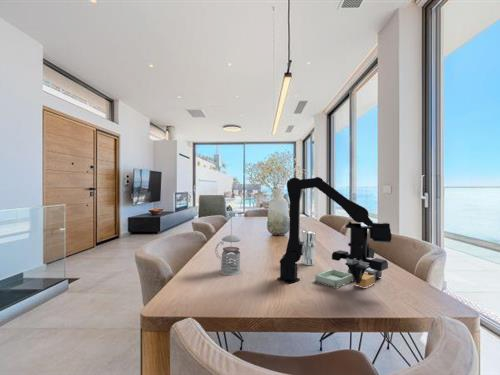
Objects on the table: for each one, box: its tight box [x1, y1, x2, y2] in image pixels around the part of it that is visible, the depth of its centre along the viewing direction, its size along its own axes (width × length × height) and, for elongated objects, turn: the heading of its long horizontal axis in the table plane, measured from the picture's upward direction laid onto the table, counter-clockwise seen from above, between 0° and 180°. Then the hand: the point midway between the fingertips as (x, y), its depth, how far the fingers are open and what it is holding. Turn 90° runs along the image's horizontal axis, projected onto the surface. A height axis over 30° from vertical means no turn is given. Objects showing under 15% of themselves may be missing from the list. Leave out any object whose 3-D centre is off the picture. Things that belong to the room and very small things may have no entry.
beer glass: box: [300, 230, 317, 266], centre depth 127 cm, size 7×7×15 cm
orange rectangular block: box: [354, 272, 376, 287], centre depth 100 cm, size 7×4×4 cm, turn 130°
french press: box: [214, 212, 243, 276], centre depth 114 cm, size 10×12×25 cm
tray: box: [314, 268, 354, 289], centre depth 104 cm, size 12×9×2 cm
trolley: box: [347, 266, 383, 280], centre depth 109 cm, size 9×10×6 cm
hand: (357, 283), depth 98 cm, fingers closed
